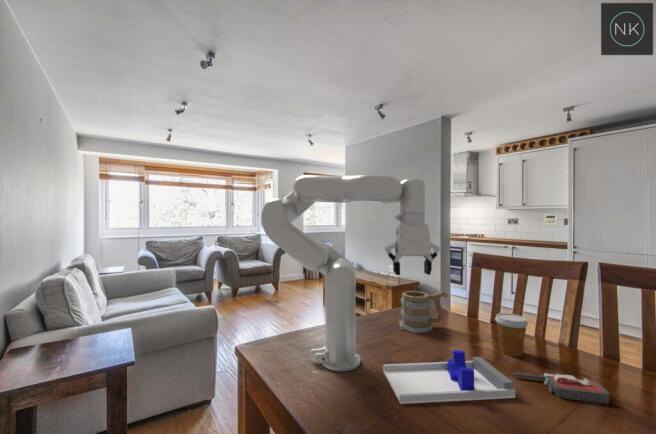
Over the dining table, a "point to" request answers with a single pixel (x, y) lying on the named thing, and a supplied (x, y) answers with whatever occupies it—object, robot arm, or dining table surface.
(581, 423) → the dining table surface
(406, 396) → the channel
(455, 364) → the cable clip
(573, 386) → the walkie-talkie
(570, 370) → the dining table surface
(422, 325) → the tankard
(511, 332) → the disposable coffee cup
